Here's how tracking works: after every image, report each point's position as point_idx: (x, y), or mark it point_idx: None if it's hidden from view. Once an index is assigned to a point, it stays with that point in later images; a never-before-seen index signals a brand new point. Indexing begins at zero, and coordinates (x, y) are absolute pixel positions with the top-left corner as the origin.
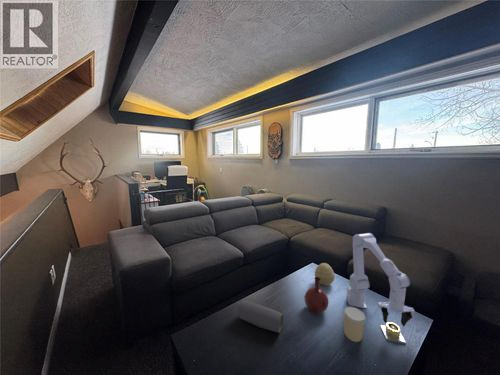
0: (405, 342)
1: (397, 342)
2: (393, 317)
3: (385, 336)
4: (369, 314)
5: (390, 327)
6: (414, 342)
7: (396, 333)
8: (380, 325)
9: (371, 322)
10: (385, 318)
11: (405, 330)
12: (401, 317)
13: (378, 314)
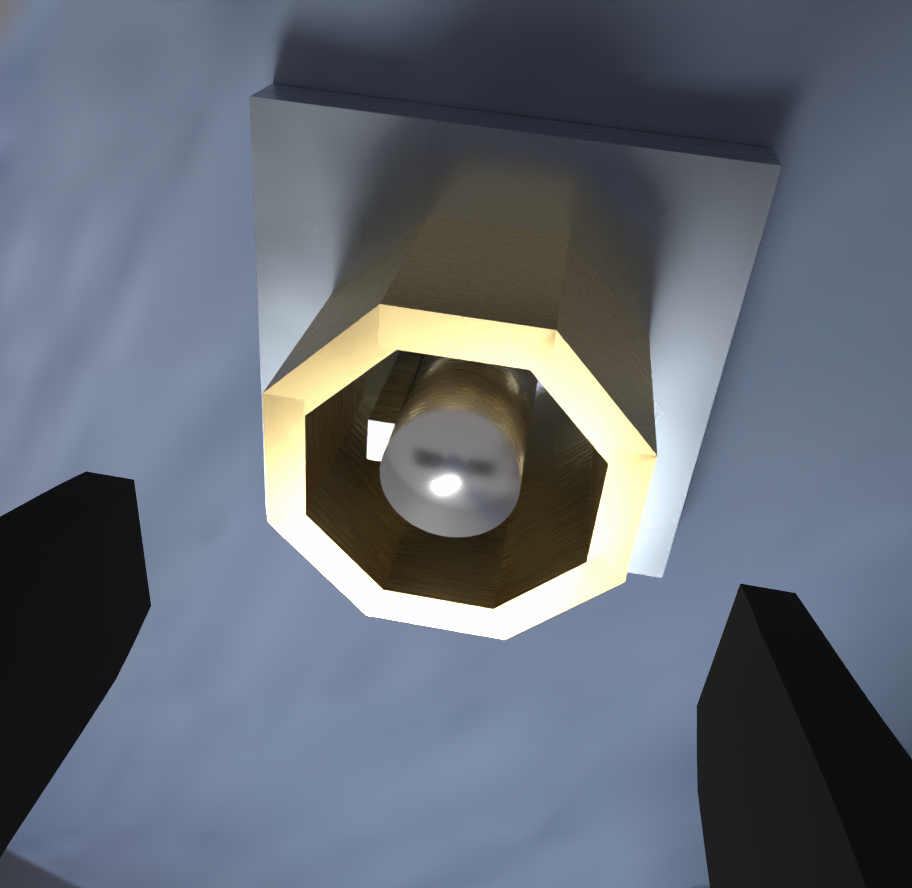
0: (264, 94)
1: (476, 111)
2: (240, 737)
3: (756, 245)
4: None
5: None
6: (32, 181)
7: (444, 279)
8: (662, 567)
9: None
10: (901, 779)
11: None
12: (34, 798)
13: (506, 793)
